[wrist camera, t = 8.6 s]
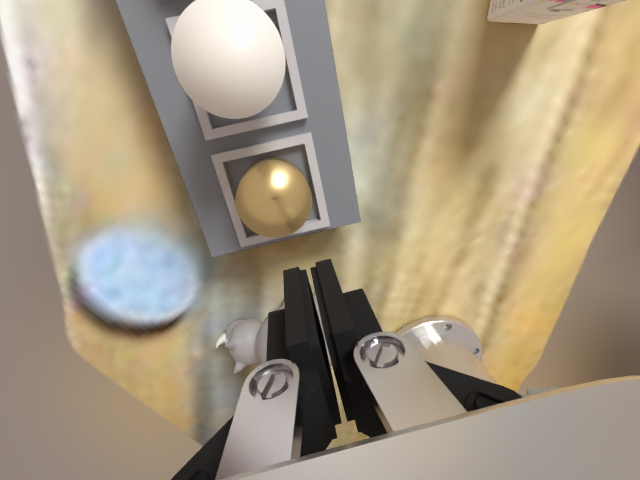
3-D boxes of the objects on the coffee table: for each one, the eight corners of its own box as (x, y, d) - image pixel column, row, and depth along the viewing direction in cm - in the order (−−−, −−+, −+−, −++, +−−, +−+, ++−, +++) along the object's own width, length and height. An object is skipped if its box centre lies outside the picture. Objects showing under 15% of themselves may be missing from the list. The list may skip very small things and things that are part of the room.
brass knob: (314, 214, 26) (319, 227, 23) (250, 229, 26) (247, 244, 23) (299, 149, 24) (303, 155, 21) (230, 165, 24) (225, 173, 21)
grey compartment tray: (347, 204, 31) (362, 224, 26) (221, 234, 31) (210, 260, 25) (286, -146, 21) (290, -223, 16) (100, -110, 21) (44, -178, 16)
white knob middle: (291, 105, 20) (296, 106, 16) (209, 124, 20) (194, 129, 16) (270, 6, 18) (269, -19, 14) (177, 25, 18) (152, 5, 14)
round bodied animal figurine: (232, 281, 36) (183, 333, 28) (341, 281, 32) (319, 341, 25) (247, 335, 38) (207, 396, 31) (350, 341, 35) (332, 411, 27)
